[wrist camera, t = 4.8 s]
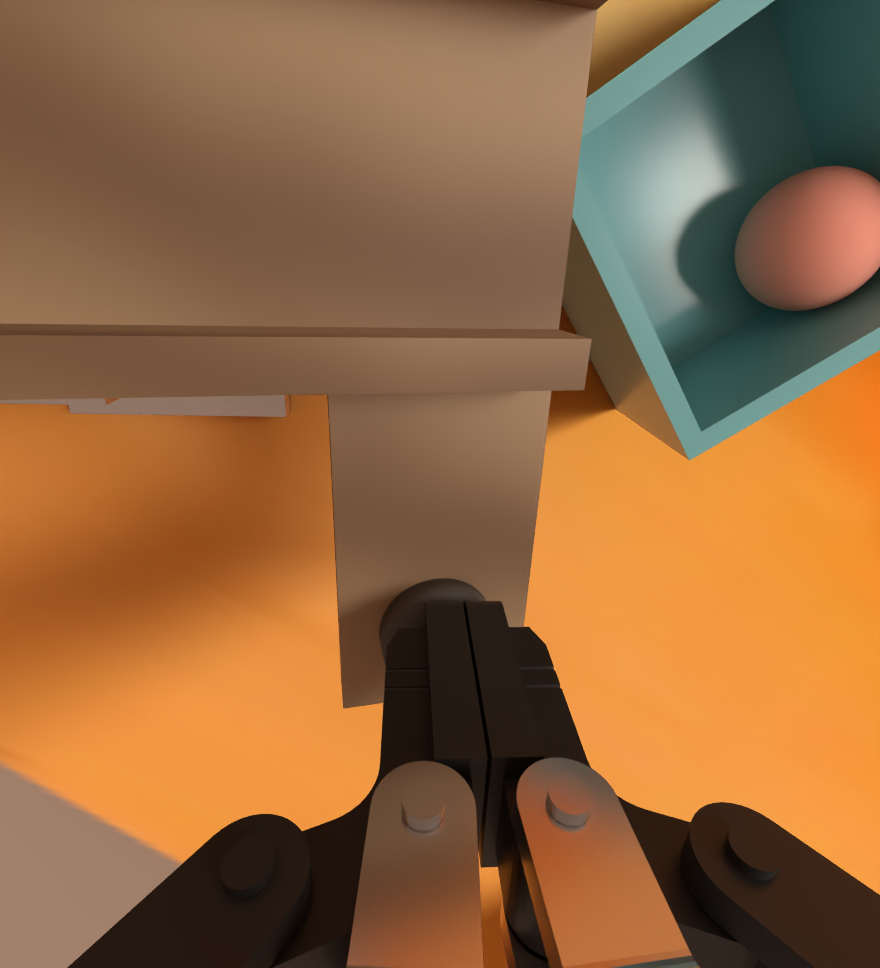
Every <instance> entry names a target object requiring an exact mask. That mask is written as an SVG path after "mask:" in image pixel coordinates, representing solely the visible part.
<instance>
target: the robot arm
mask: <svg viewBox="0 0 880 968" xmlns="http://www.w3.org/2000/svg"><path fill="white" fill-rule="evenodd" d="M478 851H479V856H480V864H481V867H498V870H499V877H500V883H501V890H502V904H501V912H500V926H501V933H502V938H503V943H504V948H505V952H506V957H507V962H508V967H509V968H880V895H879V894H877V893H876V892H874V891H873V890H872V889H870V888H869V887H867V886H866V885H864V884H863V883H861V882H860V881H858V880H857V879H856V878H854V877H853V876H851V875H850V874H848V873H847V872H845V871H844V870H843V869H841V868H840V867H838V866H837V865H835V864H834V863H832V862H831V861H829V860H828V859H827V858H825V857H824V856H822V855H821V854H819V853H818V852H816V851H815V850H814V849H812V848H811V847H809V846H808V845H806V844H805V843H803V842H802V841H800V840H799V839H798V838H796V837H795V836H793V835H792V834H790V833H789V832H787V831H786V830H785V829H783V828H782V827H780V826H779V825H777V824H776V823H774V822H773V821H771V820H770V819H768V818H767V817H765V816H763V815H762V814H760V813H758V812H756V811H754V810H752V809H749V808H747V807H744V806H741V805H737V804H733V803H724V802H720V803H712V804H708V805H706V806H704V807H702V808H700V809H699V810H698V811H697V812H696V813H695V815H694V817H693V819H692V821H691V822H687V821H684V820H680V819H677V818H673V817H670V816H666V815H663V814H659V813H656V812H652V811H649V810H645V809H642V808H640V807H637V806H635V805H633V804H630V803H628V802H626V801H625V800H623V799H622V798H620V797H618V796H617V795H616V794H615V792H614V790H613V789H612V787H611V786H610V785H609V783H608V782H607V781H606V780H605V779H604V778H603V777H602V776H601V775H600V774H598V773H597V772H596V771H595V770H593V769H592V768H591V767H590V765H589V763H588V760H587V758H586V755H585V752H584V750H583V747H582V744H581V741H580V738H579V736H578V733H577V730H576V727H575V725H574V722H573V719H572V716H571V713H570V711H569V708H568V705H567V702H566V699H565V697H564V694H563V691H562V689H560V683H559V680H558V677H557V674H556V672H555V670H554V668H553V663H552V660H551V658H550V655H549V652H548V649H547V646H546V644H545V643H544V642H543V641H542V640H541V639H540V638H539V637H538V636H537V635H536V634H535V633H534V632H533V631H532V630H531V629H530V628H529V627H509V625H508V622H507V618H506V614H505V611H504V607H503V604H502V602H501V601H464V603H463V602H462V601H426V602H425V628H398V630H397V631H396V633H395V635H394V636H393V638H392V639H391V641H390V642H389V644H388V645H387V650H386V668H385V686H384V704H383V722H382V740H381V758H380V769H379V774H378V777H377V780H376V782H375V784H374V786H373V788H372V790H371V791H370V792H369V794H368V795H367V797H366V798H365V799H364V800H363V801H362V802H361V803H360V804H359V805H358V806H356V807H355V808H354V809H353V810H351V811H350V812H348V813H347V814H345V815H343V816H341V817H339V818H337V819H334V820H332V821H329V822H327V823H324V824H321V825H318V826H316V827H313V828H310V829H307V830H305V831H301V830H300V829H299V827H298V826H297V825H296V824H294V823H293V822H292V821H290V820H289V819H286V818H284V817H282V816H278V815H273V814H258V815H252V816H248V817H245V818H242V819H239V820H237V821H235V822H233V823H231V824H229V825H228V826H226V827H224V828H223V829H221V830H220V831H219V832H218V833H216V834H215V835H214V836H213V837H212V838H211V839H209V840H208V841H207V842H206V843H205V844H204V845H203V846H202V847H201V848H199V849H198V850H197V851H196V852H195V853H194V854H193V855H192V856H191V857H189V858H188V859H187V860H186V861H185V862H184V863H183V864H182V865H181V866H180V867H178V868H177V869H176V870H175V871H174V872H173V873H172V874H171V875H170V876H168V877H167V878H166V879H165V880H164V881H163V882H162V883H161V884H160V885H158V886H157V887H156V888H155V889H154V890H153V891H152V892H151V893H150V894H149V895H147V896H146V897H145V898H144V899H143V900H142V901H141V902H140V903H139V904H137V905H136V906H135V907H134V908H133V909H132V910H131V911H130V912H129V913H127V914H126V915H125V916H124V917H123V918H122V919H121V920H120V921H119V922H117V923H116V924H115V925H114V926H113V927H112V928H111V929H110V930H109V931H108V932H107V933H105V934H104V935H103V936H102V937H101V938H100V939H99V940H98V941H96V942H95V943H94V944H93V945H92V946H91V947H90V948H89V949H88V950H86V952H84V953H83V954H82V955H81V956H80V957H79V958H78V959H77V960H75V961H74V962H73V963H72V964H71V965H70V966H69V967H68V968H484V967H483V945H482V924H481V902H480V880H479V858H478Z"/></svg>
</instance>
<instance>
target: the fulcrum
mask: <svg viewBox="0 0 880 968" xmlns="http://www.w3.org/2000/svg"><path fill="white" fill-rule="evenodd" d="M0 403H6V404H63V405H68V406H69V410H70V413H75V414H136V415H197V416H258V417H287V415H288V414H289V413H290V402H289V395H269V396H210V397H151V398H92V399H32V400H0Z"/></svg>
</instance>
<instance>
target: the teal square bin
mask: <svg viewBox="0 0 880 968" xmlns="http://www.w3.org/2000/svg"><path fill="white" fill-rule="evenodd" d="M825 166H845V167H851V168H855V169H858V170H861V171H864V172H866V173H868V174H870V175H872V176H873V177H874V178H875V179H877V180H878V181H879V182H880V0H720V1H719V2H718V3H716V4H715V5H714V6H712V7H711V8H709V9H708V10H707V11H705V12H704V13H703V14H701V15H700V16H698V17H697V18H696V19H694V20H693V21H692V22H690V23H689V24H687V25H686V26H685V27H683V28H682V29H681V30H679V31H678V32H676V33H675V34H674V35H672V36H671V37H670V38H668V39H667V40H665V41H664V42H663V43H661V44H660V45H659V46H657V47H656V48H654V49H653V50H652V51H650V52H649V53H648V54H646V55H645V56H643V57H642V58H641V59H639V60H638V61H637V62H635V63H634V64H632V65H631V66H630V67H628V68H627V69H626V70H624V71H623V72H621V73H620V74H619V75H617V76H616V77H615V78H613V79H612V80H610V81H609V82H608V83H606V84H605V85H604V86H602V87H601V88H599V89H598V90H597V91H595V92H594V93H593V94H591V95H590V96H588V97H587V98H586V104H585V113H584V121H583V130H582V138H581V147H580V155H579V163H578V172H577V180H576V189H575V197H574V206H573V214H572V222H571V231H570V239H569V248H568V256H567V265H566V273H565V281H564V290H563V298H562V306H563V308H564V310H565V312H566V314H567V316H568V318H569V320H570V322H571V324H572V326H573V328H574V329H575V331H576V333H577V335H580V336H583V337H587V338H590V339H592V340H591V347H590V354H589V358H590V360H591V362H592V364H593V366H594V368H595V370H596V372H597V374H598V375H599V377H600V379H601V381H602V383H603V385H604V387H605V389H606V391H607V393H608V395H609V397H610V398H611V400H612V402H613V404H614V406H615V408H616V410H618V411H619V412H621V413H622V414H624V415H625V416H626V417H628V418H629V419H631V420H632V421H634V422H635V423H637V424H638V425H639V426H641V427H642V428H644V429H645V430H647V431H648V432H649V433H651V434H652V435H654V436H655V437H657V438H658V439H660V440H661V441H662V442H664V443H665V444H667V445H668V446H670V447H671V448H672V449H674V450H675V451H677V452H678V453H680V454H681V455H682V456H684V457H685V458H687V459H688V460H691V459H693V458H694V457H696V456H698V455H699V454H701V453H703V452H705V451H706V450H708V449H710V448H712V447H713V446H715V445H717V444H718V443H720V442H722V441H724V440H725V439H727V438H729V437H731V436H732V435H734V434H736V433H737V432H739V431H741V430H743V429H744V428H746V427H748V426H750V425H751V424H753V423H755V422H756V421H758V420H760V419H762V418H763V417H765V416H767V415H769V414H770V413H772V412H774V411H775V410H777V409H779V408H781V407H782V406H784V405H786V404H788V403H789V402H791V401H793V400H794V399H796V398H798V397H800V396H801V395H803V394H805V393H807V392H808V391H810V390H812V389H813V388H815V387H817V386H819V385H820V384H822V383H824V382H826V381H827V380H829V379H831V378H832V377H834V376H836V375H838V374H839V373H841V372H843V371H845V370H846V369H848V368H850V367H851V366H853V365H855V364H857V363H858V362H860V361H862V360H864V359H865V358H867V357H869V356H870V355H872V354H874V353H876V352H877V351H879V350H880V267H879V268H878V270H877V271H876V272H875V273H874V274H873V276H872V277H871V278H870V279H869V280H868V281H867V282H865V283H864V284H863V285H862V286H861V287H860V288H858V289H857V290H855V291H854V292H853V293H851V294H850V295H848V296H846V297H845V298H843V299H841V300H839V301H837V302H834V303H832V304H830V305H827V306H824V307H820V308H817V309H811V310H804V311H787V310H781V309H776V308H773V307H770V306H767V305H765V304H763V303H762V302H760V301H758V300H757V299H755V298H754V297H753V296H752V295H751V294H750V293H749V292H748V291H747V290H746V289H745V287H744V286H743V284H742V283H741V281H740V279H739V277H738V274H737V271H736V266H735V246H736V240H737V237H738V233H739V231H740V228H741V226H742V224H743V222H744V220H745V218H746V217H747V215H748V214H749V212H750V211H751V209H752V208H753V207H754V205H755V204H756V203H757V202H758V201H759V200H760V199H761V198H762V197H763V196H764V195H765V194H766V193H767V192H768V191H770V190H771V189H772V188H773V187H775V186H776V185H778V184H779V183H781V182H782V181H784V180H785V179H787V178H789V177H791V176H793V175H796V174H798V173H801V172H803V171H806V170H809V169H813V168H818V167H825Z"/></svg>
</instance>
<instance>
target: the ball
mask: <svg viewBox="0 0 880 968" xmlns="http://www.w3.org/2000/svg"><path fill="white" fill-rule="evenodd" d="M735 266H736V271H737V274H738V277H739V279H740V281H741V283H742V284H743V286H744V287H745V289H746V290H747V291H748V292H749V293H750V294H751V295H752V296H753V297H754V298H755V299H757V300H758V301H760V302H762V303H763V304H765V305H767V306H770V307H773V308H776V309H781V310H787V311H804V310H811V309H817V308H820V307H824V306H827V305H830V304H832V303H834V302H837V301H839V300H841V299H843V298H845V297H846V296H848V295H850V294H851V293H853V292H854V291H855V290H857V289H858V288H860V287H861V286H862V285H863V284H864V283H865V282H867V281H868V280H869V279H870V278H871V277H872V276H873V274H874V273H875V272H876V271H877V270H878V268H879V267H880V182H879V181H878V180H877V179H875V178H874V177H873V176H872V175H870V174H868V173H866V172H864V171H861V170H858V169H855V168H851V167H845V166H825V167H818V168H813V169H809V170H806V171H803V172H801V173H798V174H796V175H793V176H791V177H789V178H787V179H785V180H784V181H782V182H781V183H779V184H778V185H776V186H775V187H773V188H772V189H771V190H770V191H768V192H767V193H766V194H765V195H764V196H763V197H762V198H761V199H760V200H759V201H758V202H757V203H756V204H755V205H754V207H753V208H752V209H751V211H750V212H749V214H748V215H747V217H746V218H745V220H744V222H743V224H742V226H741V228H740V231H739V233H738V237H737V240H736V246H735Z"/></svg>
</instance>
